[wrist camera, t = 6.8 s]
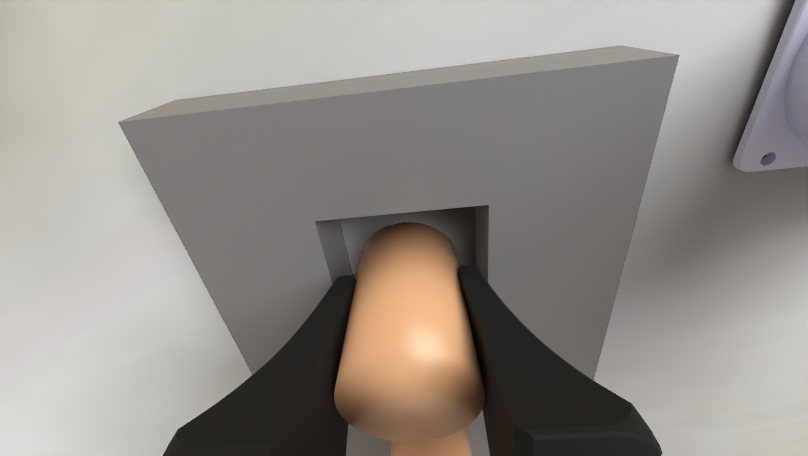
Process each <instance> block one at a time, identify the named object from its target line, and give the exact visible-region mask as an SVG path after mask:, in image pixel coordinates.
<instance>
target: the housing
mask: <svg viewBox="0 0 808 456" xmlns="http://www.w3.org/2000/svg"><path fill="white" fill-rule="evenodd" d="M678 58H679V55H676V54H670V53H663V52H657V51H651V50H645V49H638V48H632V47H626V46H616V47H607V48H599V49H591V50H583V51H575V52H567V53H558V54H550V55H542V56H534V57H526V58H518V59H509V60H501V61H493V62H485V63H477V64H469V65H461V66H452V67H444V68H436V69H428V70H420V71H412V72H403V73H395V74H387V75H379V76H371V77H363V78H354V79H346V80H338V81H330V82H322V83H314V84H305V85H297V86H289V87H281V88H273V89H265V90H256V91H248V92H240V93H232V94H224V95H216V96H207V97H199V98H191V99H183V100H175V101H172V102H170V103H167V104H164V105H162V106H159V107H156V108H154V109H151V110H149V111H146V112H143V113H141V114H138V115H135V116H133V117H130V118H128V119H125V120H122V121H120V122H118V123H119V125H120V126H121V128H122V130H123V132H124V134H125V136H126V138H127V140H128V141H129V143H130V145H131V147H132V149H133V151H134V153H135V155H136V157H137V158H138V160H139V162H140V164H141V166H142V168H143V170H144V172H145V173H146V175H147V177H148V179H149V181H150V183H151V185H152V187H153V188H154V190H155V192H156V194H157V196H158V198H159V200H160V202H161V203H162V205H163V207H164V209H165V211H166V213H167V215H168V217H169V218H170V220H171V222H172V224H173V226H174V228H175V230H176V232H177V233H178V235H179V237H180V239H181V241H182V243H183V245H184V247H185V249H186V250H187V252H188V254H189V256H190V258H191V260H192V262H193V264H194V265H195V267H196V269H197V271H198V273H199V275H200V277H201V279H202V280H203V282H204V284H205V286H206V288H207V290H208V292H209V294H210V295H211V297H212V299H213V301H214V303H215V305H216V307H217V309H218V310H219V312H220V314H221V316H222V318H223V320H224V322H225V324H226V325H227V327H228V329H229V331H230V333H231V335H232V337H233V339H234V341H235V342H236V344H237V346H238V348H239V350H240V352H241V354H242V356H243V357H244V359H245V361H246V363H247V365H248V367H249V369H250V371H251V372H252V374H254V373H255V372H257V371H258V370H259V369H260V368H261V367H262V366H263V365H265V364H266V363H267V362H268V361H269V360H270V359H271V358H272V357H273V356H274V355H275V354H276V353H277V352H278V351H279V350H280V349H281V348H282V347H283V346H284V345H285V344H286V343H287V342H288V341H289V340H290V338H291V337H292V336H293V335H294V334H295V333H296V331H297V330H298V329H299V328H300V327H301V326H302V324H303V323H304V322H305V321H306V319H307V318H308V317H309V316H310V314H311V313H312V312H313V310H314V309H315V308H316V306H317V305H318V304H319V302H320V301H321V300H322V298H323V297H324V296H325V294H326V293H327V291H328V290H329V288H330V287H331V286H332V284H333V283H334V281H335V280H336V278H337V277H338V276H348V275H353V274H352V270H351V266H350V262H349V258H348V254H347V250H346V246H345V242H344V237H343V233H342V229H341V225H340V221H339V219H345V218H356V217H366V216H377V215H387V214H398V213H408V212H419V211H429V210H440V209H450V208H461V207H471V206H475V255H476V266H477V267H479V269H480V271H481V273H482V274H483V276H484V277H485V279H486V280H487V282H488V283H489V284H490V286H491V287H492V289H493V290H494V291H495V292H496V294H497V295H498V296H499V297H500V299H501V300H502V301H503V302H504V304H505V305H506V306H507V307H508V308H509V309H510V311H511V312H512V313H513V314H514V315H515V316H516V317H517V318H518V319H519V320H520V321H521V322H522V323H523V324H524V325H525V326H526V327H527V328H528V329H529V330H530V331H531V332H532V333H533V334H534V335H535V336H536V337H537V338H538V339H539V340H541V341H542V342H543V343H544V344H545V345H546V346H548V347H549V348H550V349H551V350H552V351H553V352H555V353H556V354H557V355H559V356H560V357H561V358H563V359H564V360H565V361H566V362H568V363H569V364H570V365H572V366H573V367H574V368H576V369H577V370H578V371H580V372H581V373H583V374H584V375H586V376H587V377H589V378H590V379H592V380H593V379H594V376H595V372H596V368H597V364H598V361H599V357H600V353H601V349H602V345H603V342H604V338H605V334H606V330H607V327H608V323H609V319H610V315H611V311H612V308H613V304H614V300H615V296H616V293H617V289H618V285H619V281H620V277H621V274H622V270H623V266H624V262H625V259H626V255H627V251H628V247H629V243H630V240H631V236H632V232H633V228H634V225H635V221H636V217H637V213H638V209H639V206H640V202H641V198H642V194H643V191H644V187H645V183H646V179H647V175H648V172H649V168H650V164H651V160H652V157H653V153H654V149H655V145H656V141H657V138H658V134H659V130H660V126H661V123H662V119H663V115H664V111H665V107H666V104H667V100H668V96H669V92H670V88H671V85H672V81H673V77H674V73H675V70H676V66H677V62H678ZM346 456H490V453H489V446H488V440H487V434H486V428H485V422H484V416H483V410H481V412H480V414H479V415H478V417H477V418H476V419H475V420H474V421H473V422H472V423H471V424H469V425H468V426H467V427H465V428H464V429H462V430H460V431H458V432H456V433H454V434H451V435H449V436H446V437H443V438H439V439H435V440H429V441H420V442H399V441H391V440H386V439H381V438H377V437H374V436H371V435H368V434H366V433H364V432H362V431H360V430H358V429H356V428H355V427H353V426H351V425H350V424H348V435H347V448H346Z"/></svg>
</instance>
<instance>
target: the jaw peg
mask: <svg viewBox="0 0 808 456" xmlns="http://www.w3.org/2000/svg"><path fill="white" fill-rule="evenodd" d="M458 266H459V262H458V257H457V253H456V250H455V248H454V246H453V244H452V243H451V241H450V240H449V239H448V238H447V237H446V236H445V235H444V234H443V233H442V232H440V231H439V230H437V229H435V228H433V227H431V226H428V225H425V224H420V223H412V222H405V223H397V224H393V225H390V226H387V227H385V228H383V229H381V230H379V231H378V232H376V233H375V234H374V235H372V236H371V237H370V238H369V240H368V241H367V242H366V244H365V245H364V247H363V250H362V252H361V257H360V262H359V267H358V272H357V278H356V283H355V288H354V293H353V298H352V303H351V308H350V314H349V319H348V324H347V329H346V334H345V339H344V344H343V349H342V355H341V360H340V365H339V370H338V375H337V380H336V385H335V391H334V402H335V406H336V408H337V410H338V412H339V413H340V415H341V416H342V417H343V418H344V419H345V421H346V422H348V423H349V424H350V425H351V426H353V427H355V428H356V429H358V430H360V431H362V432H364V433H366V434H368V435H371V436H374V437H377V438H381V439H386V440H391V441H399V442H420V441H429V440H435V439H439V438H443V437H446V436H449V435H451V434H454V433H456V432H458V431H460V430H462V429H464V428H465V427H467V426H468V425H469V424H471V423H472V422H473V421H474V420H475V419H476V418H477V417H478V415H479V414H480V412H481V410H482V409H483V406H484V402H485V392H484V387H483V382H482V377H481V372H480V367H479V362H478V357H477V352H476V347H475V342H474V337H473V332H472V328H471V323H470V319H469V315H468V311H467V307H466V303H465V300H464V296H463V292H462V287H461V282H460V277H459V270H458Z"/></svg>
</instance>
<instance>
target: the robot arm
mask: <svg viewBox="0 0 808 456" xmlns="http://www.w3.org/2000/svg"><path fill="white" fill-rule="evenodd" d="M766 154H767V155H766ZM765 155H766V157H765V158H764V159H762V158H763V156H765ZM761 159H762V160H761ZM733 165H734V167H735V168H737V169H739V170H741V171H743V172H755V171H765V170H775V169H786V168H796V167H806V166H808V0H795V3H794V5H793V8H792V10H791V13H790V15H789V18H788V20H787V23H786V26H785V28H784V31H783V33H782V36H781V38H780V41H779V43H778V46H777V49H776V51H775V54H774V56H773V59H772V61H771V64H770V66H769V69H768V72H767V74H766V77H765V79H764V82H763V84H762V87H761V89H760V92H759V95H758V97H757V100H756V102H755V105H754V107H753V110H752V112H751V115H750V118H749V120H748V123H747V125H746V128H745V130H744V133H743V136H742V138H741V141H740V143H739V146H738V148H737V151H736V153H735V156H734V159H733ZM458 270H459V277H460V282H461V287H462V292H463V296H464V300H465V303H466V307H467V311H468V315H469V319H470V323H471V328H472V332H473V337H474V342H475V347H476V352H477V357H478V362H479V367H480V372H481V377H482V382H483V387H484V392H485V402H484V406H483V409H482V410H483V416H484V422H485V428H486V434H487V440H488V446H489V453H490V456H661V455H662V451H661V448H660V445H659V443H658V442H657V440H656V438H655V437H654V435H653V433H652V431H651V430H650V428H649V427H648V425H647V424H646V423H645V421H644V420H643V418H642V417H641V416H640V414H639V413H638V412H637V410H636V409H635V407H634V406H633V405H632V404H631V403H630V402H628V401H626V400H625V399H623V398H621V397H620V396H618V395H616V394H615V393H613V392H611V391H609V390H608V389H606V388H604V387H603V386H601V385H599V384H598V383H596V382H595V381H593V380H592V379H590V378H589V377H587V376H586V375H584V374H583V373H581V372H580V371H578V370H577V369H576V368H574V367H573V366H572V365H570V364H569V363H568V362H566V361H565V360H564V359H563V358H561V357H560V356H559V355H557V354H556V353H555V352H553V351H552V350H551V349H550V348H549V347H548V346H546V345H545V344H544V343H543V342H542V341H541V340H539V339H538V338H537V337H536V336H535V335H534V334H533V333H532V332H531V331H530V330H529V329H528V328H527V327H526V326H525V325H524V324H523V323H522V322H521V321H520V320H519V319H518V318H517V317H516V316H515V315H514V314H513V313H512V312H511V311H510V309H509V308H508V307H507V306H506V305H505V304H504V302H503V301H502V300H501V299H500V297H499V296H498V295H497V294H496V292H495V291H494V290H493V289H492V287H491V286H490V284H489V283H488V282H487V280H486V279H485V277H484V276H483V274H482V273H481V271H480V269H479V267H477V266H476V265H466V266H458ZM355 283H356V279H355V275H348V276H338V277H337V278H336V280H335V281H334V283H333V284H332V286H331V287H330V288H329V290H328V291H327V293H326V294H325V296H324V297H323V298H322V300H321V301H320V302H319V304H318V305H317V306H316V308H315V309H314V310H313V312H312V313H311V314H310V316H309V317H308V318H307V319H306V321H305V322H304V323H303V324H302V326H301V327H300V328H299V329H298V330H297V331H296V333H295V334H294V335H293V336H292V337H291V338H290V340H289V341H288V342H287V343H286V344H285V345H284V346H283V347H282V348H281V349H280V350H279V351H278V352H277V353H276V354H275V355H274V356H273V357H272V358H271V359H270V360H269V361H268V362H267V363H266V364H265V365H263V366H262V367H261V368H260V369H259V370H258V371H257V372H255V373H254V374H253V375H252V376H251V377H250V378H249V379H248V380H246V381H245V382H244V383H243V384H241V385H240V386H239V387H238V388H236V389H235V390H234V391H233V392H231V393H230V394H229V395H227V396H226V397H225V398H223V399H222V400H221V401H219V402H218V403H216V404H215V405H214V406H212V407H211V408H209V409H208V410H206V411H205V412H203V413H202V414H200V415H199V416H197V417H196V418H194V419H193V420H191V421H190V422H188V423H187V424H185V425H184V426H182V427H181V428H179V429H178V430H177V432H176V433H175V435H174V437H173V438H172V440H171V442H170V443H169V445H168V447H167V449H166V451H165V453H164V454H163V456H346V448H347V435H348V424H349V423H348V422H346V421H345V419H344V418H343V417H342V416H341V415H340V413H339V412H338V410H337V408H336V406H335V402H334V391H335V385H336V380H337V375H338V370H339V365H340V360H341V355H342V349H343V344H344V339H345V334H346V329H347V324H348V319H349V314H350V308H351V303H352V298H353V293H354V288H355Z"/></svg>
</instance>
